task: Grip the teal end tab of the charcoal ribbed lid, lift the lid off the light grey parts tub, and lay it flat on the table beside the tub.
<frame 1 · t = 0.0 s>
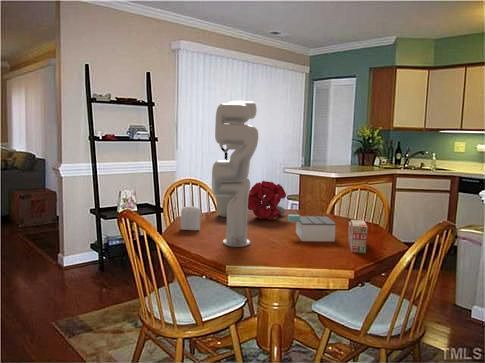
hand: (235, 160, 209), 37 cm above the table, tool pointing down, fingers open, 9 cm apart
tub: (314, 236, 205), on the table
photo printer: (190, 230, 214), on the table
bouquet: (268, 218, 247), on the table
canister: (228, 216, 251), on the table
printed milk carton: (356, 246, 191), on the table
lid: (315, 221, 204), point 8 cm above the table, touching tub
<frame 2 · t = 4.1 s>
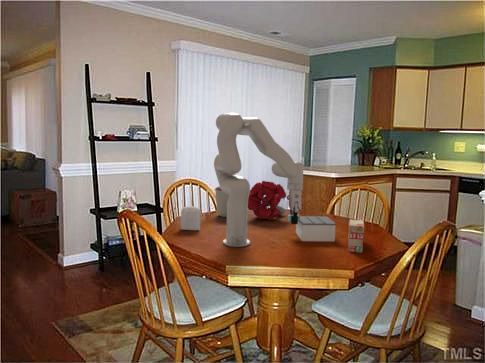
hand: (293, 222, 204), 7 cm above the table, tool pointing down, fingers closed on lid, 3 cm apart
lid: (315, 221, 204), point 8 cm above the table, touching gripper
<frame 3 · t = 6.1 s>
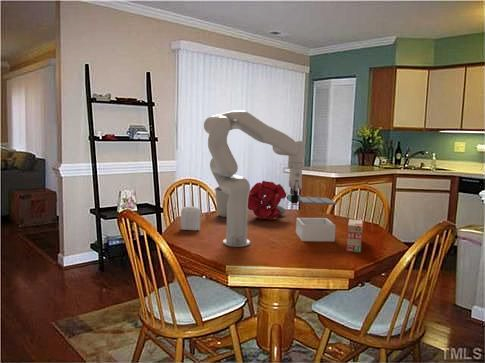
hand: (293, 202, 202), 18 cm above the table, tool pointing down, fingers closed on lid, 3 cm apart
lid: (315, 201, 203), point 18 cm above the table, touching gripper
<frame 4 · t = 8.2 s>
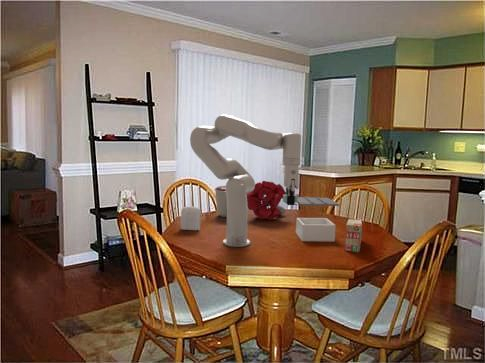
hand: (289, 203, 177), 21 cm above the table, tool pointing down, fingers closed on lid, 3 cm apart
lid: (314, 202, 178), point 22 cm above the table, touching gripper
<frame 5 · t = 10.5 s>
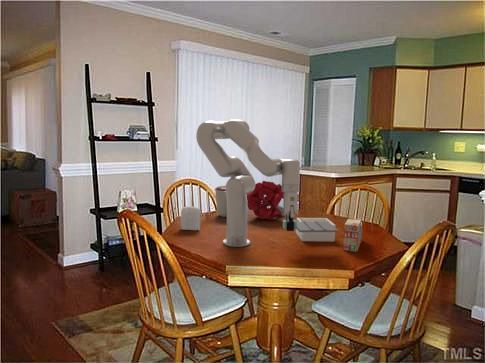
hand: (289, 229, 178), 10 cm above the table, tool pointing down, fingers closed on lid, 3 cm apart
lid: (314, 227, 179), point 11 cm above the table, touching gripper
when the fingers open (1 cm above the table, at t = 12.5 s): lid drops 2 cm, on the table.
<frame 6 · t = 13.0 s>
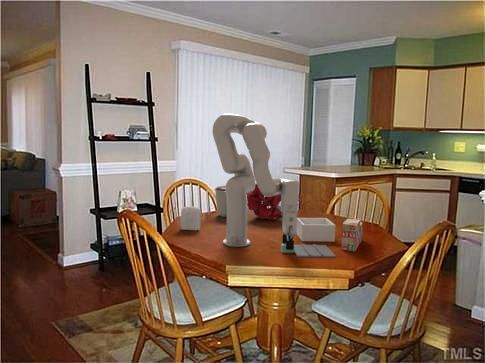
hand: (287, 246, 179), 2 cm above the table, tool pointing down, fingers open, 9 cm apart
lid: (312, 251, 180), on the table
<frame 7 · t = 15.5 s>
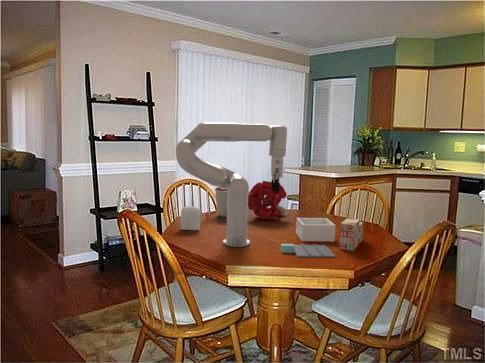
hand: (275, 189, 189), 25 cm above the table, tool pointing down, fingers open, 9 cm apart
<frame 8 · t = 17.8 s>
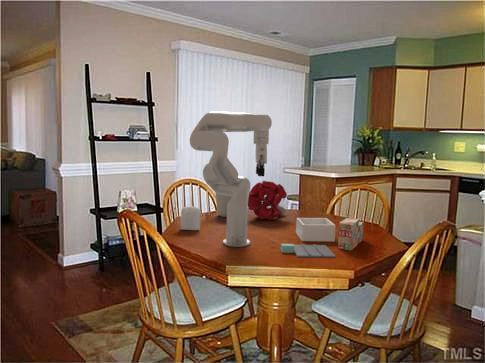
hand: (260, 175, 205), 30 cm above the table, tool pointing down, fingers open, 9 cm apart
at the end: lid inside the target area (0.1 cm from its centre), on the table; lid touching table; lid tilted 1° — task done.
